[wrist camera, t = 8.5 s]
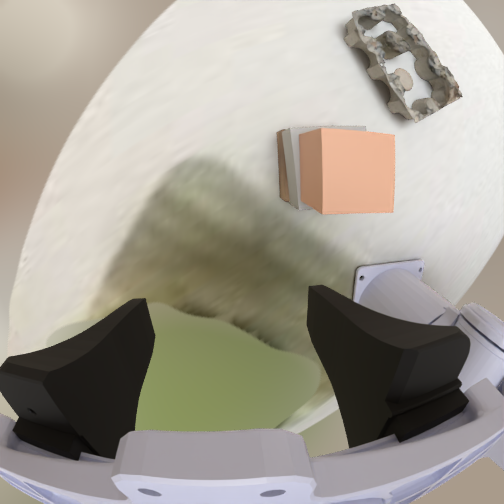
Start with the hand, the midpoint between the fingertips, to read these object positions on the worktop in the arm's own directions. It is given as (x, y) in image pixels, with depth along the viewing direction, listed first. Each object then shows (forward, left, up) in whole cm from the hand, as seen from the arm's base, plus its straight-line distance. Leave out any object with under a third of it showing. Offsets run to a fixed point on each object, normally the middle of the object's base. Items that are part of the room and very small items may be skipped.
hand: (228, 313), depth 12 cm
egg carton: (+16, -15, -11) cm, 24 cm away
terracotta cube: (+6, -7, -6) cm, 10 cm away
